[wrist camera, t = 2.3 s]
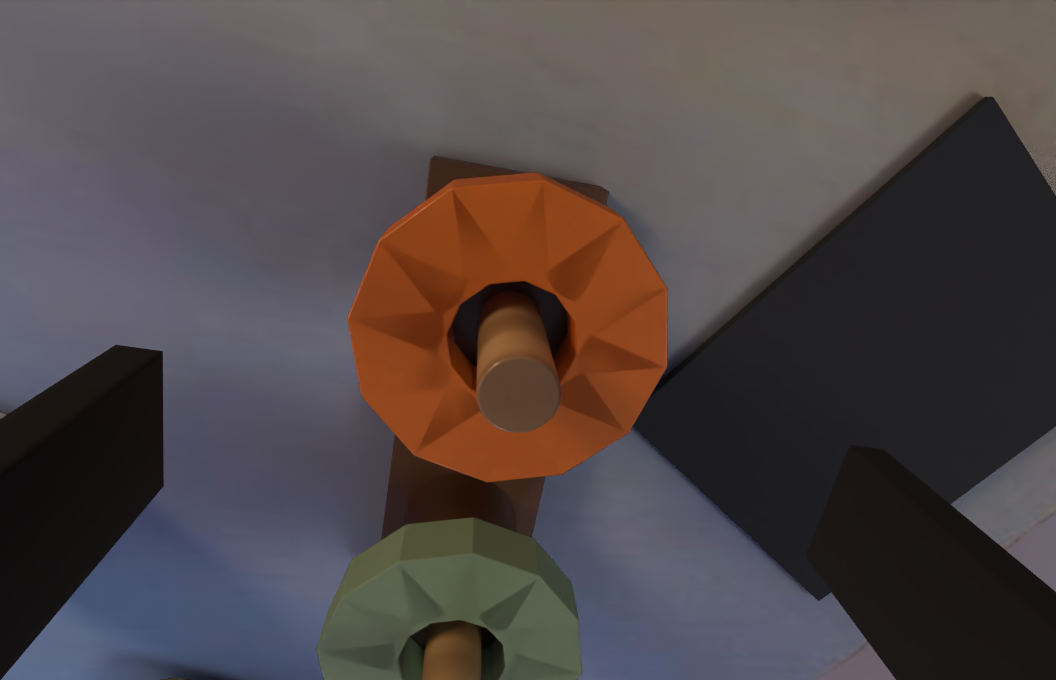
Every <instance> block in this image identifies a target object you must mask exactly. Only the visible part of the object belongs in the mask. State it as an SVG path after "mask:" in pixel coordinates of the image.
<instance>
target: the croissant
mask: <svg viewBox="0 0 1056 680" xmlns="http://www.w3.org/2000/svg"><path fill="white" fill-rule="evenodd" d="M162 680H188V679H174V678H167V679H162Z"/></svg>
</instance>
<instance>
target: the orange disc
mask: <svg viewBox="0 0 1056 680" xmlns="http://www.w3.org/2000/svg"><path fill="white" fill-rule="evenodd" d="M519 281H525V282H528V283H530V284H532V285H534V286H537V287H539V288H541V289H543V290H546V291H548V292H550V293H552V294H555V295H556V297H557V298H558V299H559V301H560V302H561V304H562V305H563V307H564V308H565V309H566V315H567V331H568V332H567V334H566V335H565V337H564V339H563V341H562V343H561V345H560V347H559V349H558V351H557V353H556V355H555V357H554V358H553V360H554V364H555V367H556V371H557V374H558V378H559V381H560V385H561V401H560V404H559V407H558V409H557V411H556V413H555V414H554V415H553V417H552V418H551V419H550V420H549V421H548V422H547V423H546V424H544V425H543V426H541V427H539V428H538V429H535V430H533V431H529V432H524V433H512V432H507V431H504V430H501V429H499V428H497V427H495V426H494V425H492V424H491V423H490V422H488V421H487V420H486V419H485V418H484V416H483V415H482V413H481V411H480V409H479V407H478V404H477V397H476V387H477V367H476V366H473V365H472V364H471V363H470V361H469V360H468V359H467V358H466V356H465V355H464V354H463V353H462V351H461V350H460V349H459V348H458V346H457V345H456V344H455V342H454V334H453V326H452V323H453V321H454V319H455V316H456V314H457V312H458V310H459V308H460V305H461V304H462V303H463V302H465V301H466V300H467V299H469V298H470V297H472V296H473V295H475V294H476V293H478V292H479V291H481V290H482V289H483V288H485V287H486V286H488V285H489V284H497V283H508V282H519ZM347 320H348V326H349V331H350V336H351V341H352V347H353V352H354V357H355V363H356V368H357V373H358V379H359V384H360V389H361V395H362V398H364V400H365V401H366V402H367V403H368V404H369V405H370V406H371V407H372V409H373V410H374V411H375V412H376V413H377V414H378V415H379V416H380V418H381V419H382V420H383V421H384V422H385V423H386V424H387V425H388V427H389V428H390V429H391V430H392V431H393V432H394V433H395V434H396V436H397V437H398V438H399V439H400V440H401V441H402V442H403V443H404V445H405V446H406V447H407V448H408V449H409V450H410V451H411V452H412V454H413V455H414V456H417V457H420V458H422V459H425V460H428V461H430V462H433V463H436V464H439V465H441V466H444V467H447V468H449V469H452V470H455V471H458V472H460V473H463V474H466V475H468V476H471V477H474V478H477V479H479V480H482V481H485V482H495V481H504V480H514V479H523V478H533V477H543V476H552V475H562V474H564V473H565V472H567V471H568V470H570V469H572V468H573V467H575V466H576V465H578V464H580V463H581V462H583V461H584V460H586V459H588V458H589V457H591V456H592V455H594V454H596V453H597V452H599V451H600V450H602V449H604V448H605V447H607V446H608V445H610V444H612V443H613V442H615V441H616V440H618V439H619V438H621V437H623V436H624V435H626V434H628V433H629V431H630V430H631V428H632V426H633V425H634V423H635V421H636V419H637V418H638V416H639V414H640V413H641V411H642V409H643V407H644V406H645V404H646V402H647V401H648V399H649V397H650V395H651V394H652V392H653V390H654V389H655V387H656V385H657V383H658V382H659V380H660V378H661V377H662V375H663V373H664V371H665V370H666V368H667V287H666V285H665V283H664V282H663V280H662V279H661V277H660V276H659V274H658V272H657V271H656V269H655V268H654V266H653V264H652V263H651V261H650V260H649V258H648V256H647V255H646V253H645V252H644V250H643V248H642V247H641V245H640V244H639V242H638V240H637V239H636V237H635V236H634V234H633V232H632V231H631V229H630V228H629V226H628V224H627V223H626V221H625V220H624V218H623V217H621V216H620V215H619V214H617V213H616V212H615V211H614V210H612V209H611V208H610V207H608V206H606V205H604V204H601V203H599V202H597V201H595V200H593V199H591V198H589V197H587V196H585V195H583V194H581V193H579V192H577V191H575V190H573V189H571V188H569V187H567V186H565V185H563V184H561V183H559V182H556V181H554V180H552V179H550V178H548V177H546V176H544V175H542V174H540V173H537V172H535V173H523V174H512V175H501V176H489V177H478V178H466V179H455V180H453V181H452V182H450V183H449V184H448V185H446V186H445V187H444V188H442V189H441V190H439V191H438V192H437V193H435V194H434V195H433V196H431V197H430V198H429V199H427V200H426V201H424V202H423V203H422V204H420V205H419V206H418V207H416V208H415V209H413V210H412V211H411V212H409V213H408V214H407V215H405V216H404V217H402V218H401V219H400V220H398V221H397V222H396V223H394V224H393V225H391V226H390V227H389V228H388V229H387V230H386V232H385V233H384V234H383V235H382V237H381V238H380V239H379V241H378V243H377V245H376V248H375V250H374V253H373V255H372V258H371V260H370V263H369V265H368V268H367V270H366V273H365V275H364V278H363V280H362V283H361V285H360V288H359V290H358V293H357V295H356V298H355V300H354V303H353V305H352V308H351V310H350V313H349V315H348V318H347Z"/></svg>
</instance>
